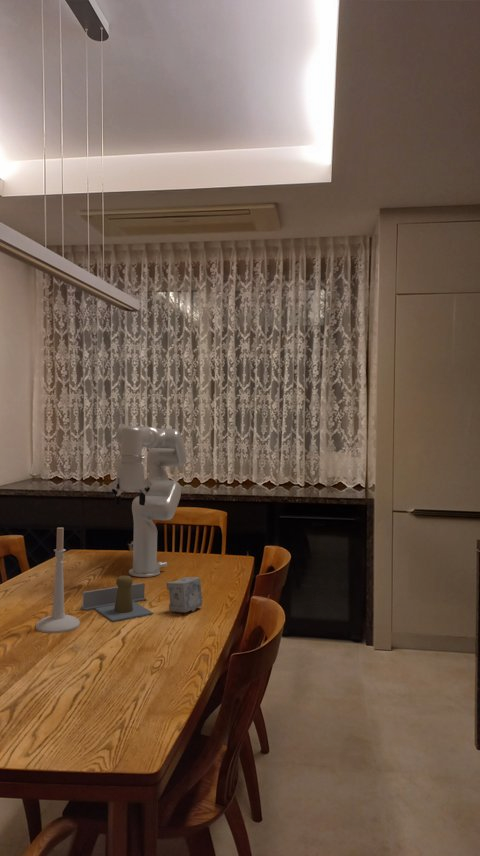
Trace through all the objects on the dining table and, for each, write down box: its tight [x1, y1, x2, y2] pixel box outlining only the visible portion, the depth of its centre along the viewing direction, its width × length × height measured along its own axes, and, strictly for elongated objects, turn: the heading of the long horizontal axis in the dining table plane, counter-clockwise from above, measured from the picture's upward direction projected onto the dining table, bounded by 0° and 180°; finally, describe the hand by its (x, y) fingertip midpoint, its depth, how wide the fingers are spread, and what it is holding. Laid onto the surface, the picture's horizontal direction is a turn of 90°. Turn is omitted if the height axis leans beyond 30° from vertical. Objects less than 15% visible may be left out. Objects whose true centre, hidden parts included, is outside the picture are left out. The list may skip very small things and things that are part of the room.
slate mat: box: [94, 601, 154, 623], centre depth 194 cm, size 14×14×1 cm
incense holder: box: [166, 576, 203, 613], centre depth 198 cm, size 10×8×10 cm
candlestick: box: [35, 526, 81, 634], centre depth 180 cm, size 13×13×30 cm
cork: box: [114, 575, 133, 613], centre depth 194 cm, size 6×6×11 cm
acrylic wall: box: [80, 582, 147, 612], centre depth 202 cm, size 22×4×6 cm, turn 126°
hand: (130, 505), depth 223 cm, fingers open, 9 cm apart
